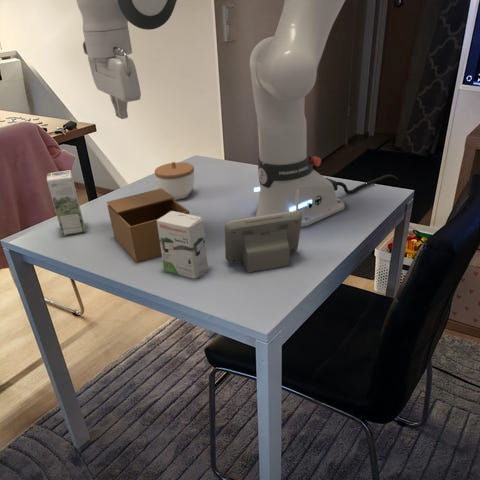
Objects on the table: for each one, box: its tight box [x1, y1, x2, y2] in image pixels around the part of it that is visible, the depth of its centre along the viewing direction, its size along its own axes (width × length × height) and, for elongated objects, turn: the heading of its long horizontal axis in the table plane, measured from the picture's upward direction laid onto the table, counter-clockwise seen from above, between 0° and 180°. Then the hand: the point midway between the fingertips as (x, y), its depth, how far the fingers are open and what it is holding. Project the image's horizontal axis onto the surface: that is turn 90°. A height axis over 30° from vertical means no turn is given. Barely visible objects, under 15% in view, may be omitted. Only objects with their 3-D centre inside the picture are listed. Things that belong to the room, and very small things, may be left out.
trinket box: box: [154, 161, 195, 201], centre depth 146 cm, size 11×11×9 cm
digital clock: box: [224, 211, 302, 273], centre depth 109 cm, size 16×9×11 cm, turn 91°
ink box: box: [157, 211, 209, 280], centre depth 108 cm, size 9×5×12 cm, turn 59°
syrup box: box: [46, 169, 86, 237], centre depth 129 cm, size 6×6×14 cm
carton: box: [107, 199, 191, 263], centre depth 122 cm, size 16×14×8 cm
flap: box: [106, 188, 174, 214], centre depth 122 cm, size 8×14×1 cm, turn 119°
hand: (122, 117), depth 114 cm, fingers closed
